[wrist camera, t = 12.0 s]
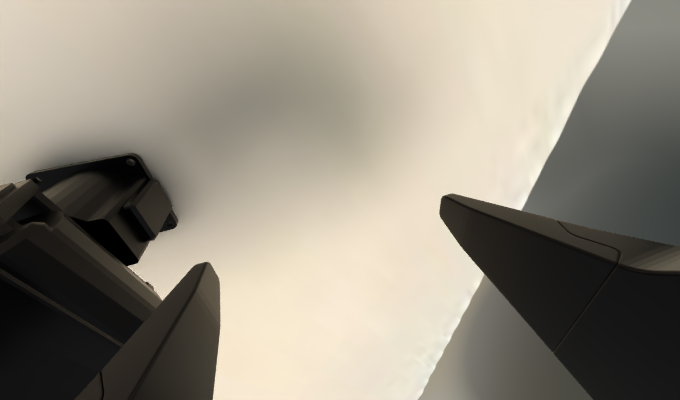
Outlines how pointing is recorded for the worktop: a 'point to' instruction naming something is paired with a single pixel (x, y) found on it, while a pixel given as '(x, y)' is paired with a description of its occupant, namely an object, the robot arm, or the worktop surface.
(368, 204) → the worktop surface
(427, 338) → the worktop surface
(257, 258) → the worktop surface
